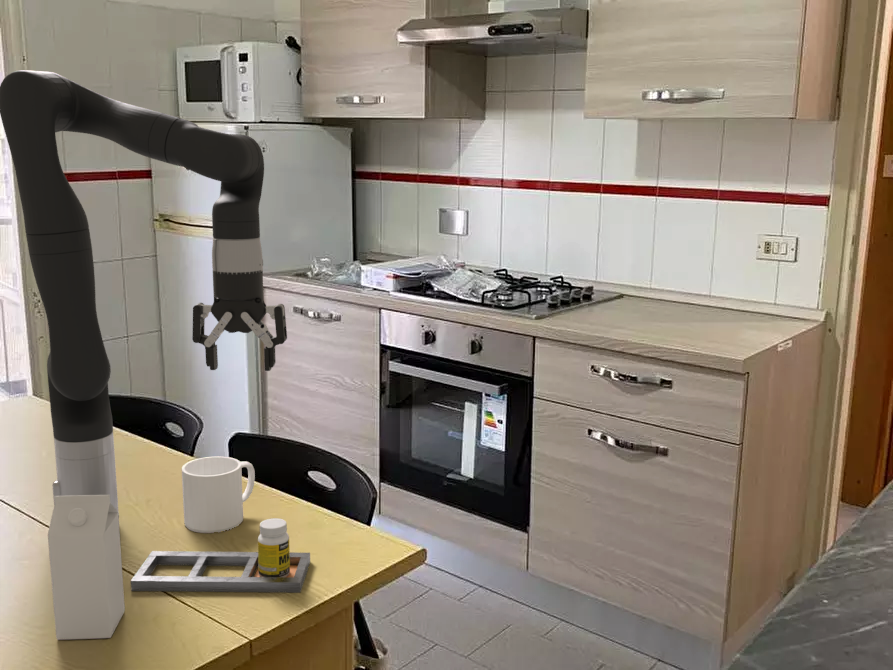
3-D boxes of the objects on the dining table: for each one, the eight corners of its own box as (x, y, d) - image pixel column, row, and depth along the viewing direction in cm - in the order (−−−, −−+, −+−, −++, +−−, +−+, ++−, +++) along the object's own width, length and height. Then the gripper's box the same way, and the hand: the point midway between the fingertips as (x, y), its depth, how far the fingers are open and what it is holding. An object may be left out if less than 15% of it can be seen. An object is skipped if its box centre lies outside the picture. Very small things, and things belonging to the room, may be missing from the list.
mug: (194, 538, 151) (191, 480, 149) (177, 517, 160) (174, 462, 158) (265, 522, 158) (263, 467, 156) (245, 503, 166) (243, 450, 164)
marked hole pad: (251, 585, 135) (251, 584, 135) (259, 567, 141) (259, 565, 141) (292, 586, 135) (292, 584, 135) (298, 567, 141) (298, 565, 141)
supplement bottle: (283, 583, 136) (281, 531, 134) (253, 580, 136) (251, 528, 135) (294, 569, 140) (293, 518, 138) (266, 565, 141) (264, 515, 139)
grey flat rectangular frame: (131, 590, 133) (130, 580, 133) (152, 560, 143) (152, 551, 143) (300, 592, 133) (300, 582, 133) (310, 562, 143) (310, 552, 143)
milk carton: (73, 613, 127) (63, 486, 123) (125, 612, 127) (116, 485, 123) (56, 641, 120) (44, 506, 116) (111, 639, 120) (101, 505, 116)
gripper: (184, 269, 135) (189, 375, 138) (279, 271, 135) (282, 376, 138) (197, 263, 142) (202, 363, 146) (288, 264, 142) (290, 364, 146)
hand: (241, 369), depth 142 cm, fingers open, 8 cm apart
